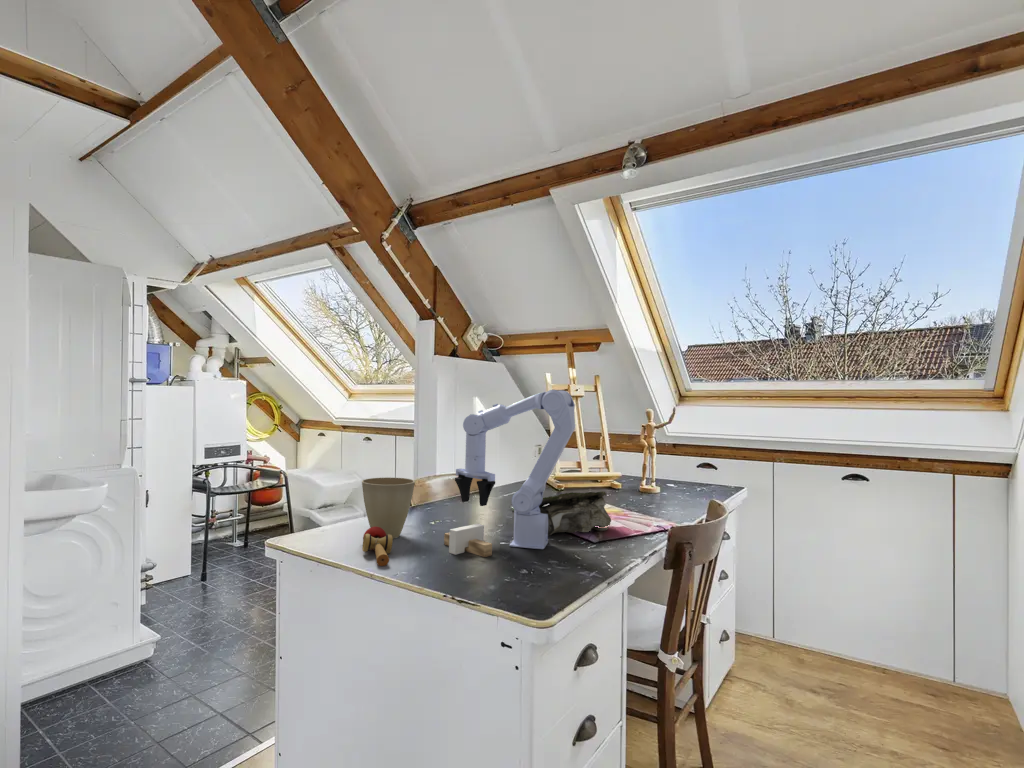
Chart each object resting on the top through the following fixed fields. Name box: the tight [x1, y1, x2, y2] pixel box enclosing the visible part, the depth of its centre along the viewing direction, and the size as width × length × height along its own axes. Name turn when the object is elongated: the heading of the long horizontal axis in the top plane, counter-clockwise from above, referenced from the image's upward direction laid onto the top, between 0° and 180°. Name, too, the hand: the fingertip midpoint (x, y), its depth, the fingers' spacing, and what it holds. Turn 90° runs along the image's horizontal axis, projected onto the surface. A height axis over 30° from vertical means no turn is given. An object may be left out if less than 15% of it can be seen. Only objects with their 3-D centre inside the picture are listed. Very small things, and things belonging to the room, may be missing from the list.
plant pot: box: [361, 476, 416, 540], centre depth 158 cm, size 15×15×16 cm
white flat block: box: [448, 523, 485, 556], centre depth 146 cm, size 2×10×6 cm, turn 137°
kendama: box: [361, 527, 394, 567], centre depth 139 cm, size 8×6×18 cm
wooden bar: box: [443, 531, 493, 558], centre depth 147 cm, size 16×2×3 cm, turn 47°
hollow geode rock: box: [539, 490, 612, 536], centre depth 168 cm, size 28×13×15 cm
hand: (474, 503), depth 159 cm, fingers open, 7 cm apart
